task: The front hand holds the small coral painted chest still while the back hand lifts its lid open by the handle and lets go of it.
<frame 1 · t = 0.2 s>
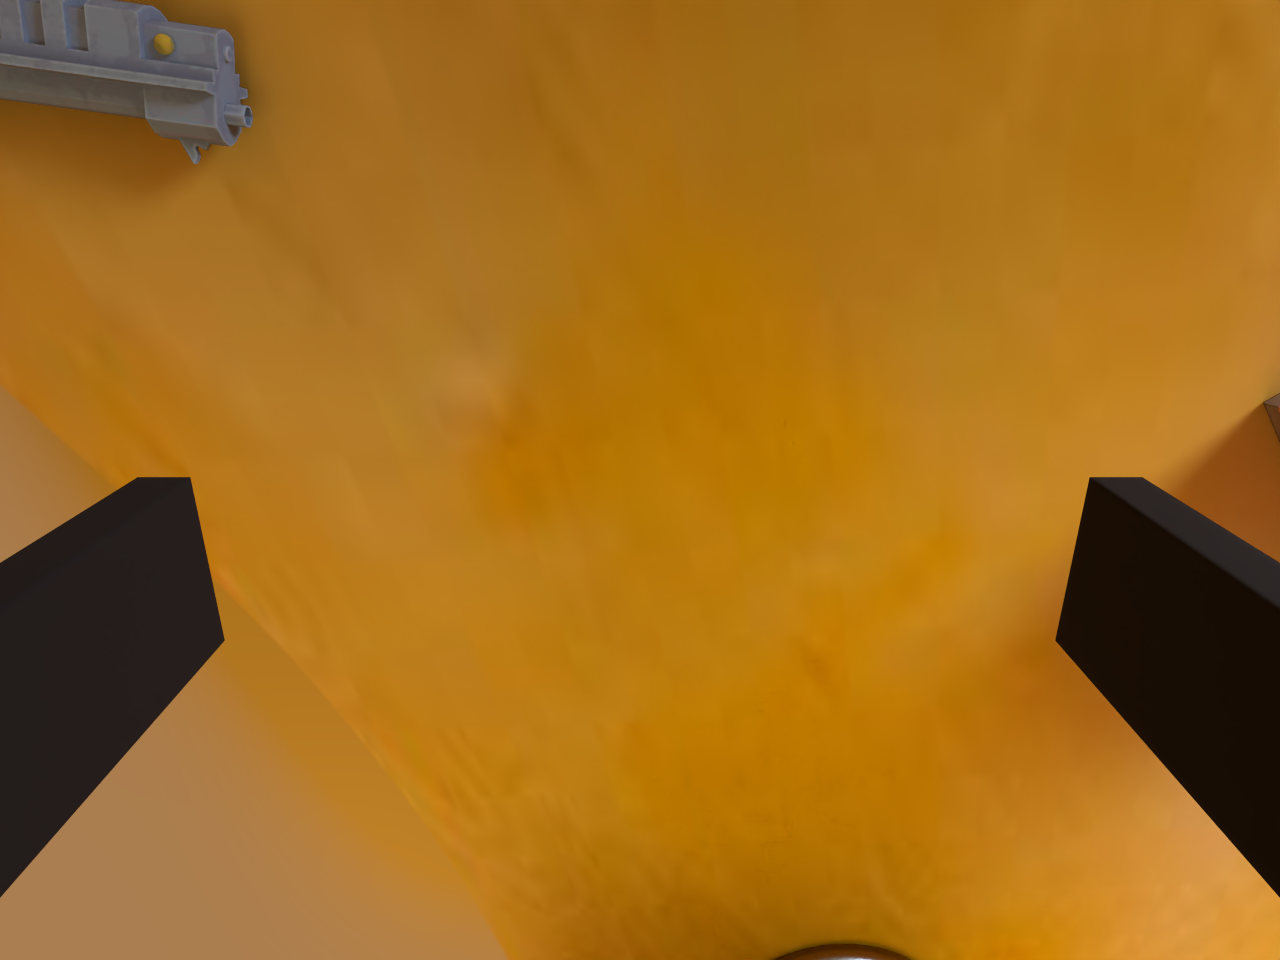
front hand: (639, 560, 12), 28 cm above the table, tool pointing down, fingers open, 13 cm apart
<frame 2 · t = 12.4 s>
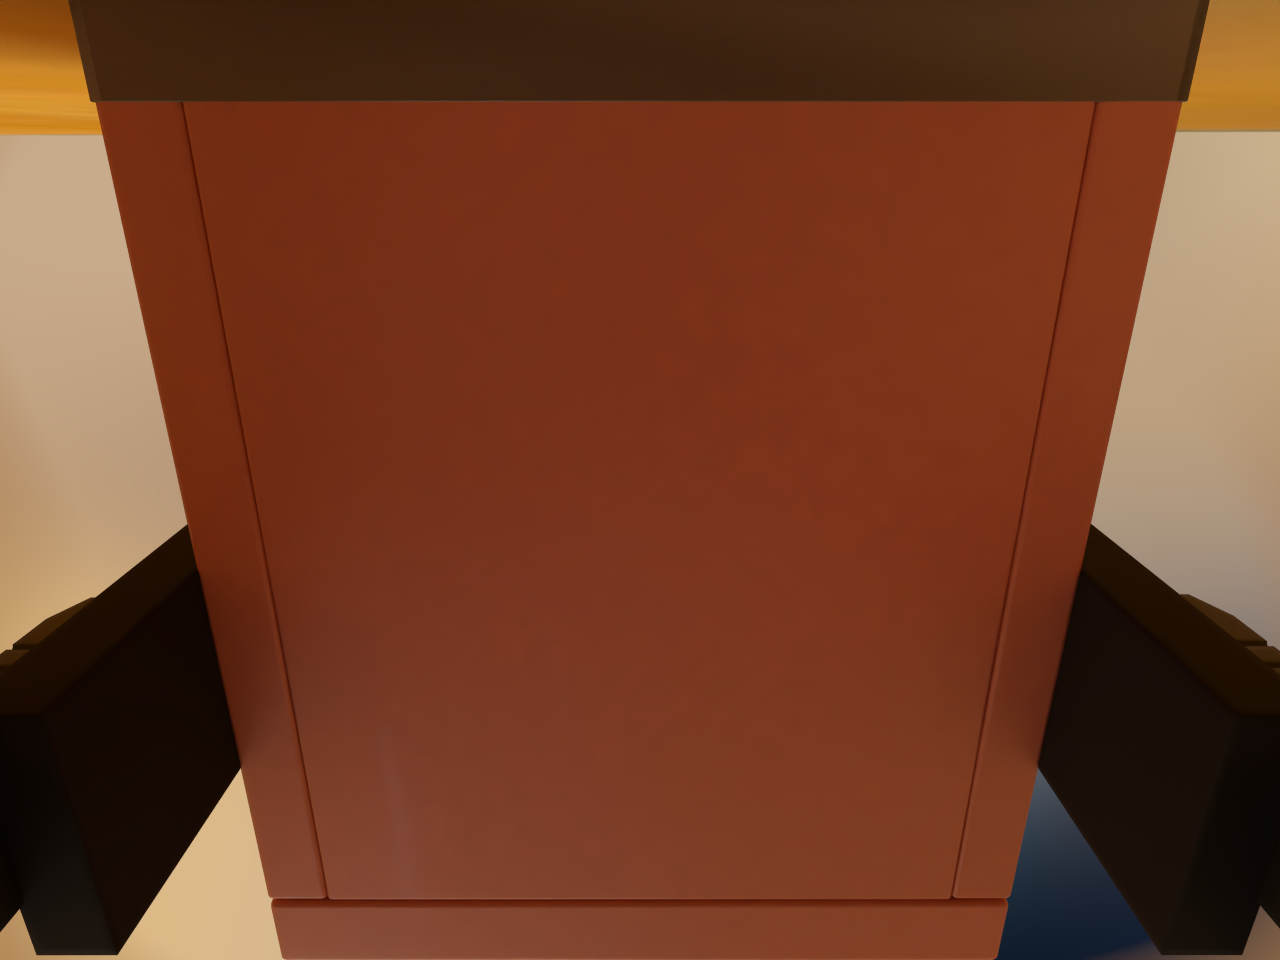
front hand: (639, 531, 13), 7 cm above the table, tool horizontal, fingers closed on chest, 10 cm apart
chest: (639, 69, 14), on the table, touching front hand
lid: (639, 780, 19), point 15 cm above the table, hinge at 0.0°
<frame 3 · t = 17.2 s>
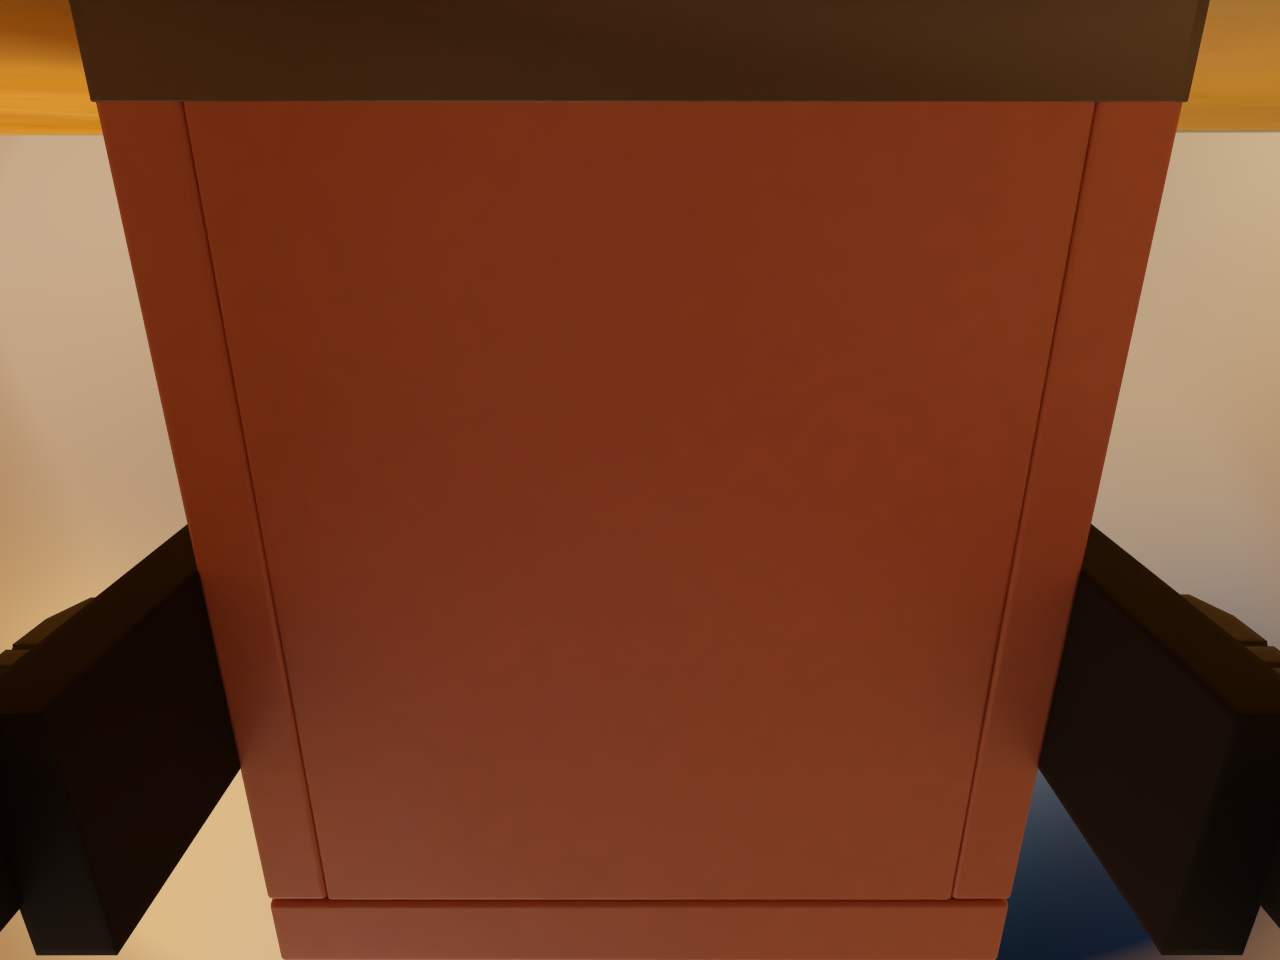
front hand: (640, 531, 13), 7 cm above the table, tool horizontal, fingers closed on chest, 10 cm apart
chest: (639, 69, 14), on the table, touching front hand
lid: (639, 781, 19), point 15 cm above the table, hinge at 0.0°, touching back hand
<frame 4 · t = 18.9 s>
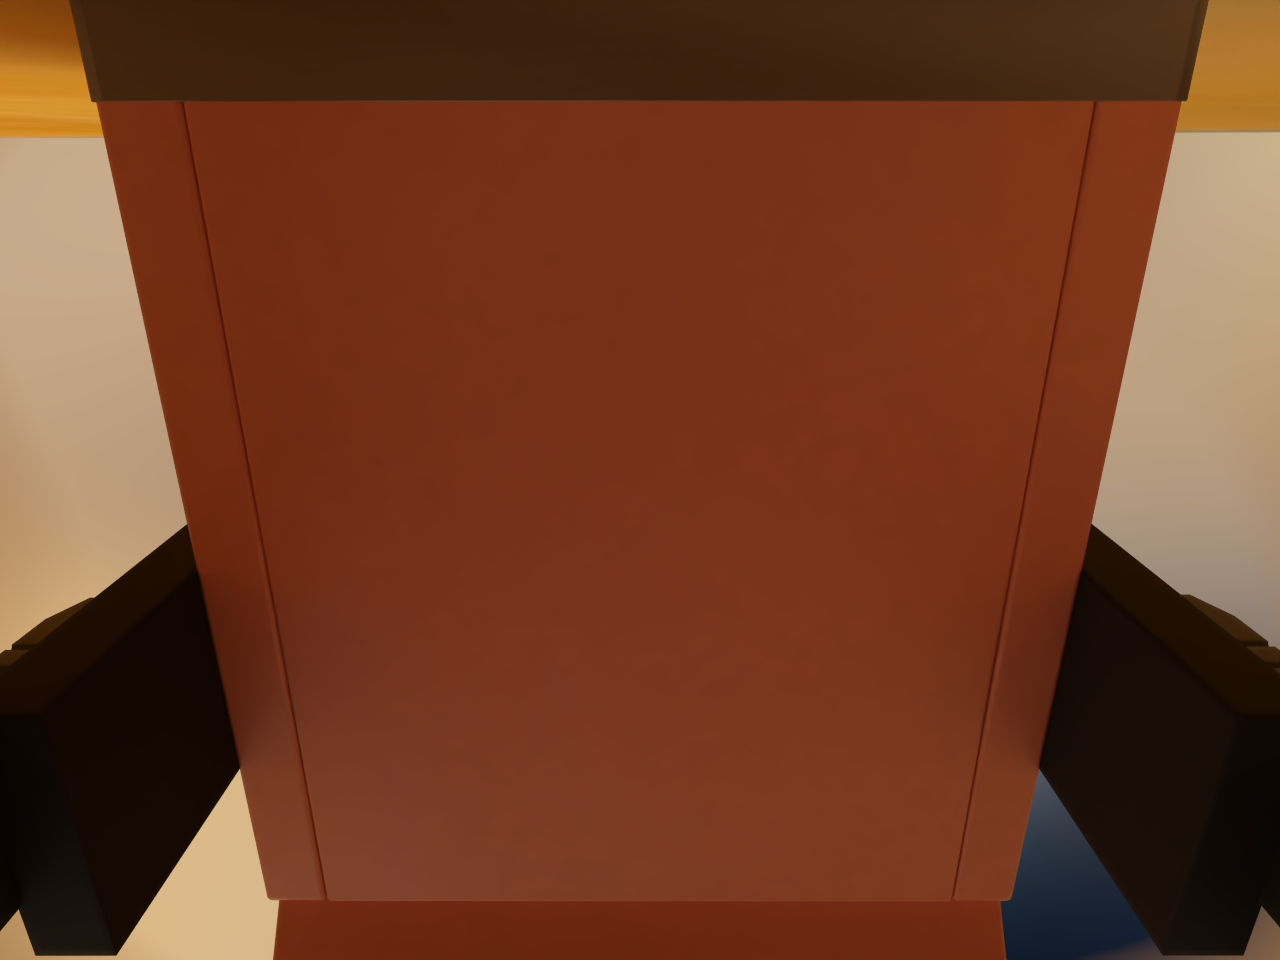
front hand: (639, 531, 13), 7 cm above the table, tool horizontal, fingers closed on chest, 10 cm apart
chest: (639, 71, 14), on the table, touching front hand
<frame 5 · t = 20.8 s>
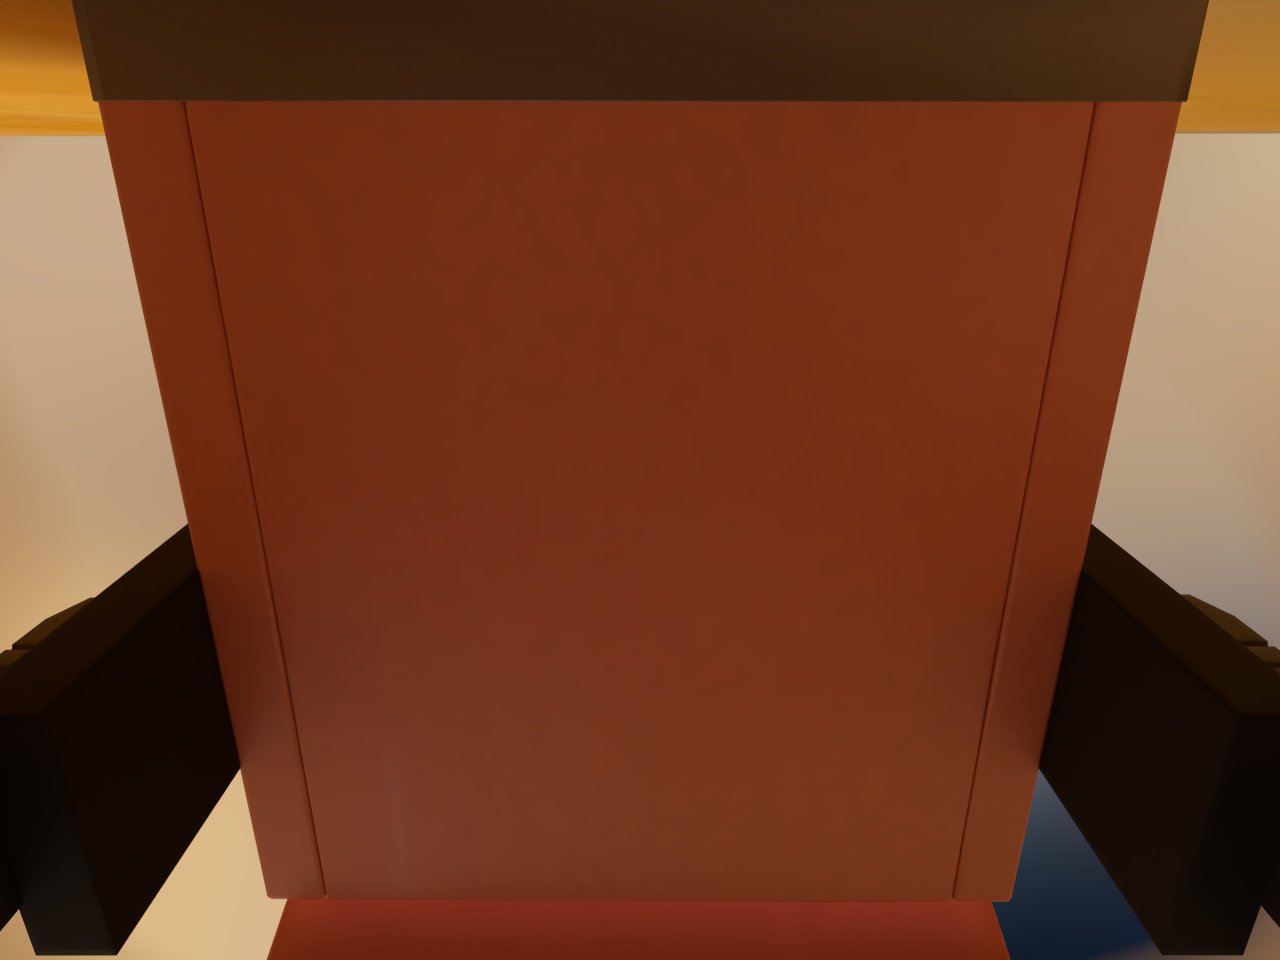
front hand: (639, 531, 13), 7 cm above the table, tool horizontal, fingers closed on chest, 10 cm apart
chest: (641, 71, 14), on the table, touching front hand
when the front hand's fingers open (7 cm above the table, at t = 24.8 s): chest stays where it is, on the table.
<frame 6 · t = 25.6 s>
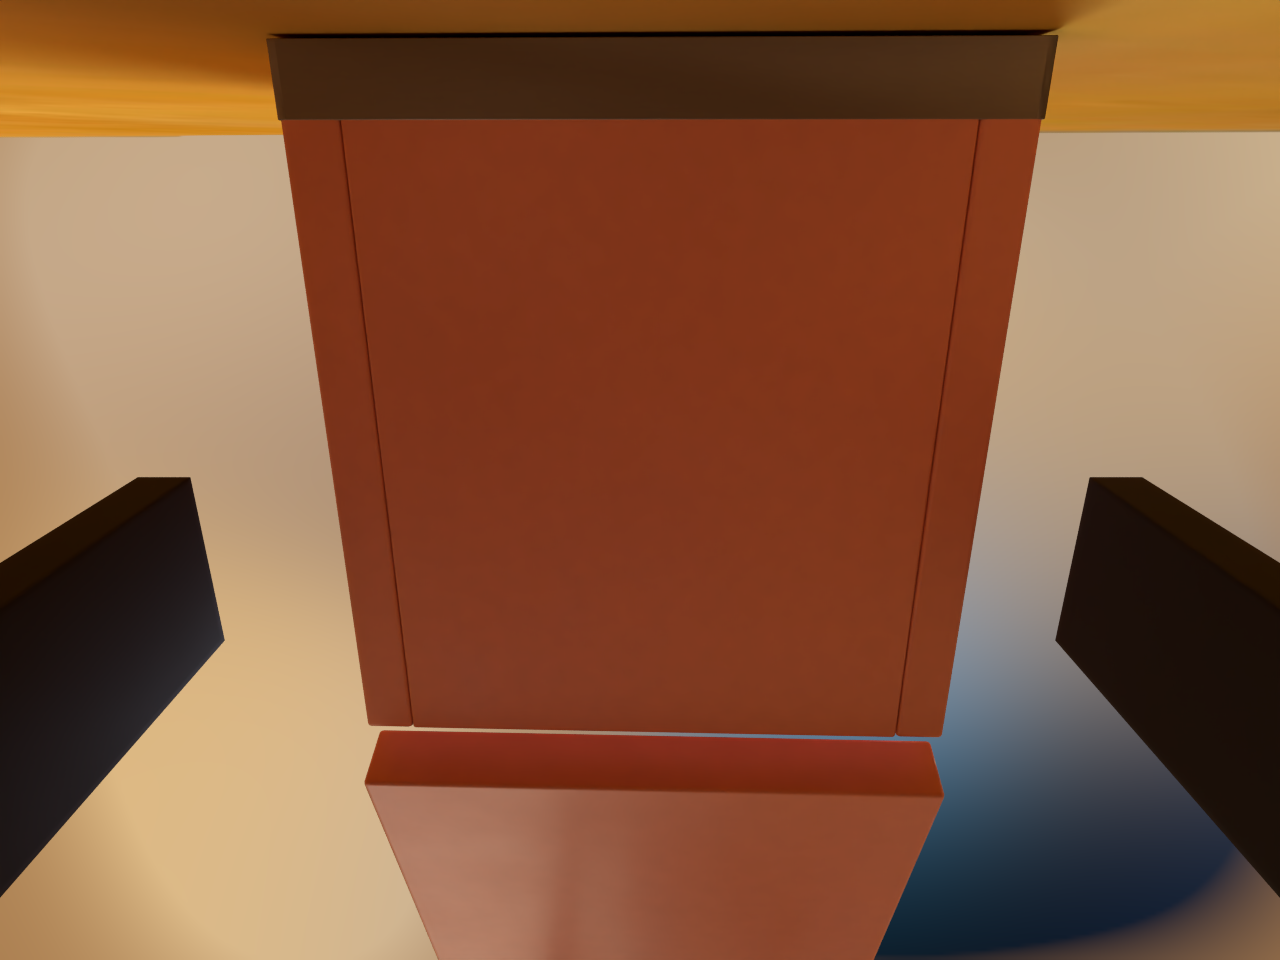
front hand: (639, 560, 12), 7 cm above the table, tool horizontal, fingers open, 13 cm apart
chest: (660, 86, 17), on the table
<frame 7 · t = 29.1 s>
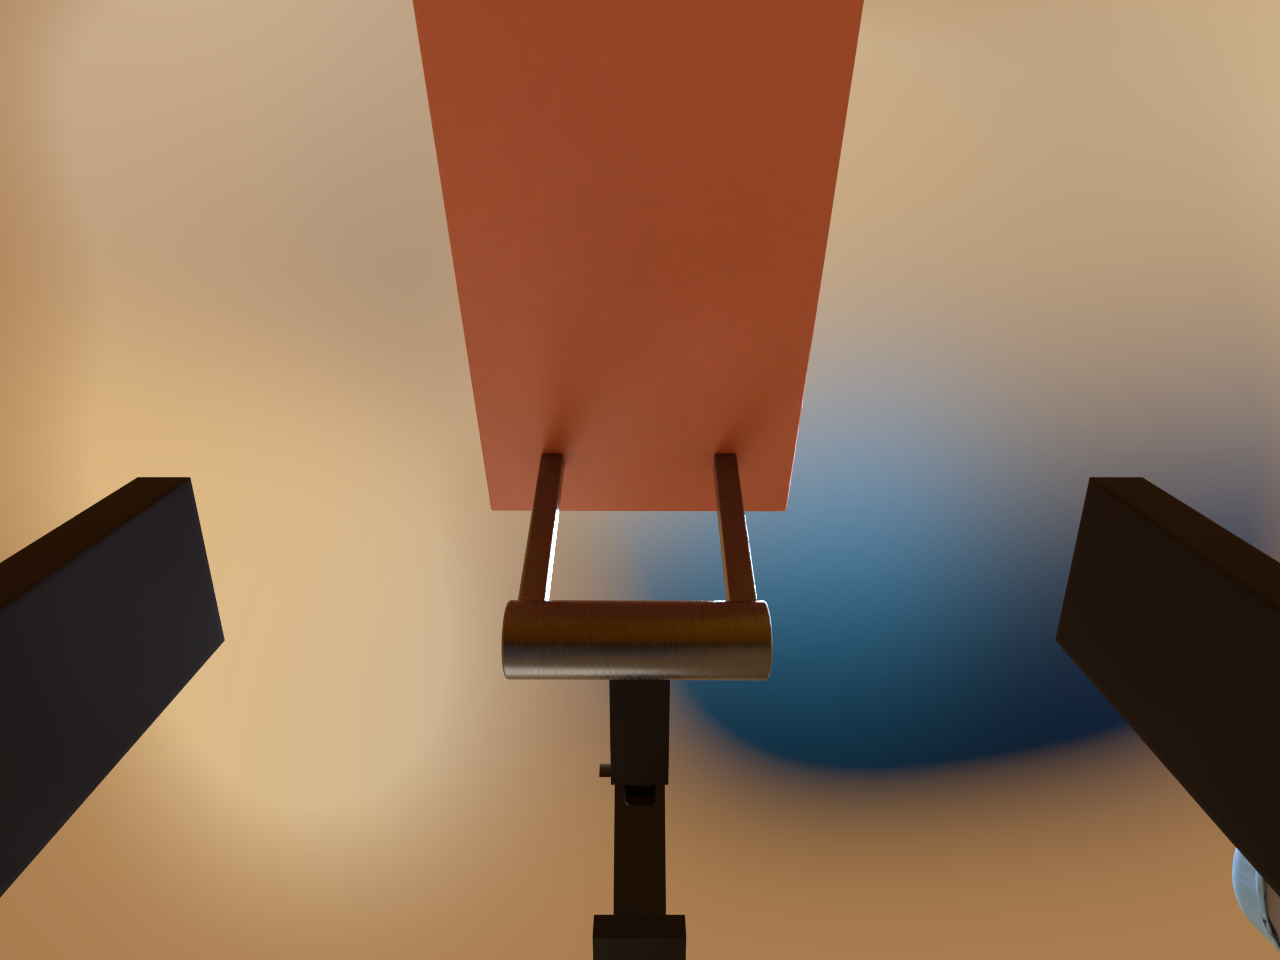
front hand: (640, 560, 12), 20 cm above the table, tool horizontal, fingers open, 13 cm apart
lid: (637, 375, 20), point 19 cm above the table, hinge at 71.5°
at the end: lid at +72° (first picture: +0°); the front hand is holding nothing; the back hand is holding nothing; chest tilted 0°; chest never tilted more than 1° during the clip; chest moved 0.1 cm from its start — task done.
